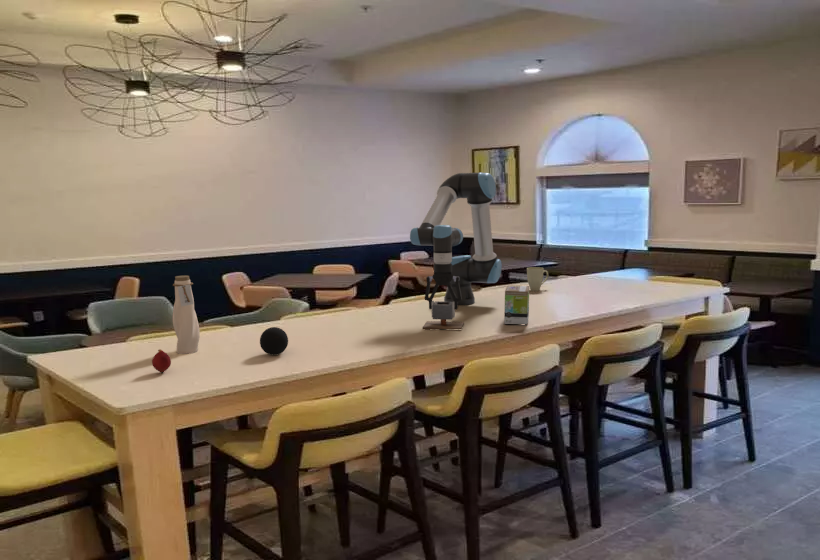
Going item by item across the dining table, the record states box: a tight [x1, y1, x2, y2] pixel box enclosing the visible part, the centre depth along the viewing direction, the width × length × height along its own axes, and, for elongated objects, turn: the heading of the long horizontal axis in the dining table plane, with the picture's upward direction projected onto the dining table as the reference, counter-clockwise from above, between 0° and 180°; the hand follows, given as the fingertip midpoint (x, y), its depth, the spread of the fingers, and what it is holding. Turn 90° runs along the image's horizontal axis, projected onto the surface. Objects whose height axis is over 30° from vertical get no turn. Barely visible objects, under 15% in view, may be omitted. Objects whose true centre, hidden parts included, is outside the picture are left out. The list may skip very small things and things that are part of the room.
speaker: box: [259, 326, 289, 356], centre depth 243 cm, size 10×10×10 cm
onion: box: [151, 348, 172, 373], centre depth 223 cm, size 6×6×8 cm
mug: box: [526, 266, 549, 292], centre depth 366 cm, size 11×10×12 cm
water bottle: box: [172, 275, 201, 354], centre depth 248 cm, size 10×9×28 cm
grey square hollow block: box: [432, 300, 453, 321], centre depth 282 cm, size 8×8×6 cm
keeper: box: [421, 319, 465, 331], centre depth 282 cm, size 12×16×9 cm
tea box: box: [503, 285, 530, 325], centre depth 289 cm, size 15×10×15 cm, turn 168°
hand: (443, 316), depth 282 cm, fingers closed on grey square hollow block, 8 cm apart
